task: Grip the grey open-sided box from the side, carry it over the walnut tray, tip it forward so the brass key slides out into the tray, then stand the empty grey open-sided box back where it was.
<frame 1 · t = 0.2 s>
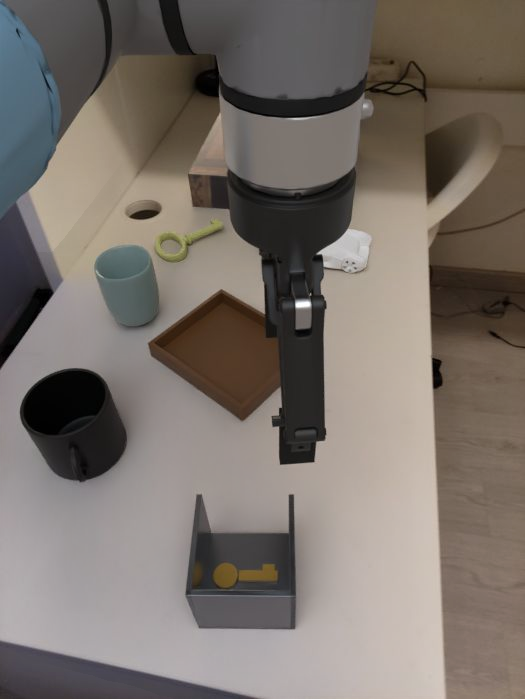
hand: (287, 391, 47), 18 cm above the table, tool pointing down, fingers open, 13 cm apart
grey open-sided box: (248, 579, 53), on the table, touching brass key
brass key: (248, 577, 53), point 1 cm above the table, touching grey open-sided box
mug: (88, 456, 63), on the table
mineral specimen: (327, 114, 123), on the table
toy car: (312, 253, 88), on the table
key: (188, 244, 91), on the table
cup: (138, 316, 79), on the table
tray: (231, 355, 73), on the table
book: (278, 177, 105), on the table
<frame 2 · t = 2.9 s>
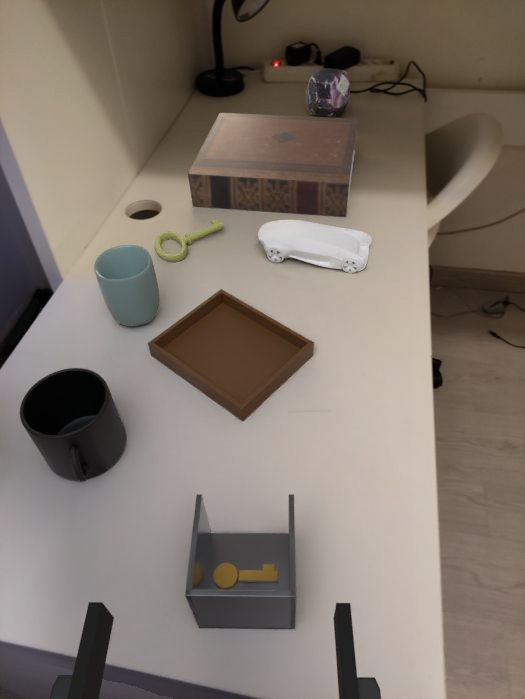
hand: (220, 609, 30), 22 cm above the table, tool horizontal, fingers open, 13 cm apart
nothing on the table moved.
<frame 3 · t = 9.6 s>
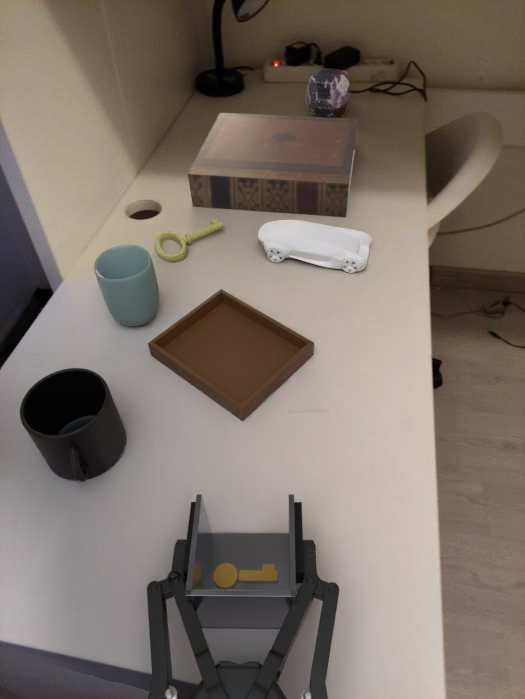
hand: (246, 508, 52), 6 cm above the table, tool horizontal, fingers closed on grey open-sided box, 9 cm apart
grey open-sided box: (248, 579, 53), on the table, touching brass key, gripper
everything else where it was.
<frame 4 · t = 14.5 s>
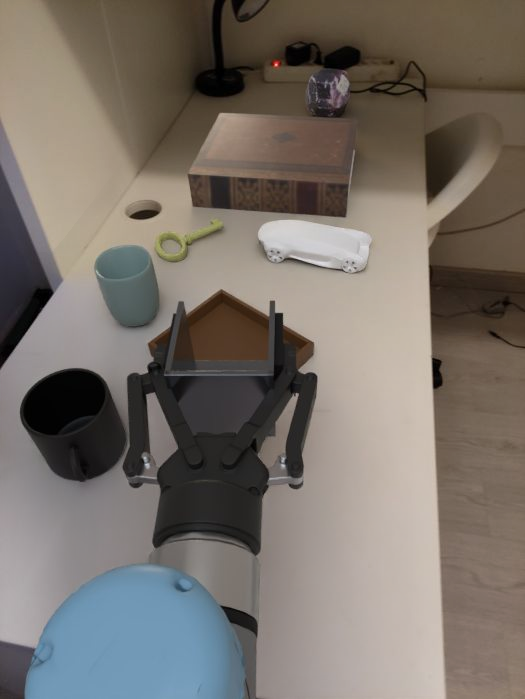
hand: (229, 323, 52), 18 cm above the table, tool horizontal, fingers closed on grey open-sided box, 9 cm apart
grey open-sided box: (230, 398, 53), point 12 cm above the table, touching brass key, gripper
brass key: (230, 394, 53), point 12 cm above the table, touching grey open-sided box
everything else where it was.
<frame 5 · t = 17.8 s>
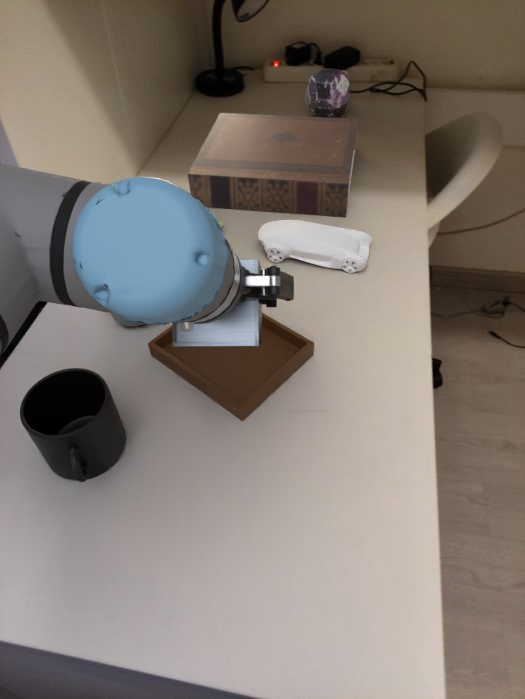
hand: (224, 293, 64), 12 cm above the table, tool tilted 45°, fingers closed on grey open-sided box, 9 cm apart
grey open-sided box: (220, 344, 60), point 10 cm above the table, tilted 45°, touching gripper
brass key: (221, 339, 61), point 10 cm above the table, tilted 45°
everything else where it was.
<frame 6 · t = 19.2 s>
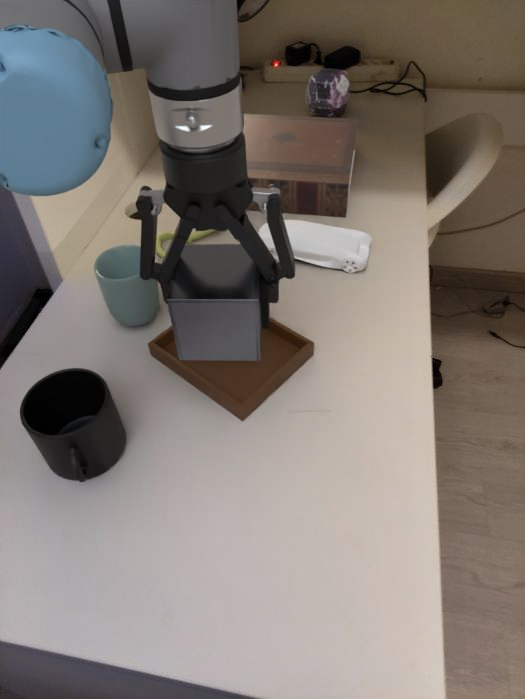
hand: (224, 320, 63), 11 cm above the table, tool pointing down, fingers closed on grey open-sided box, 9 cm apart
grey open-sided box: (216, 332, 55), point 15 cm above the table, tilted 90°, touching gripper
brass key: (226, 348, 73), point 1 cm above the table, tilted 180°, touching tray
everything else where it was.
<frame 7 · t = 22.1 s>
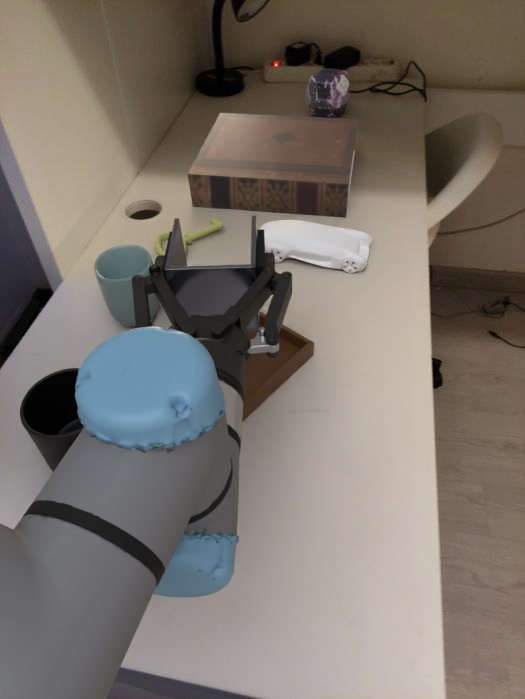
hand: (218, 240, 61), 18 cm above the table, tool horizontal, fingers closed on grey open-sided box, 9 cm apart
grey open-sided box: (220, 305, 63), point 12 cm above the table, touching gripper
everything else where it was.
when the fingers open (6 cm above the table, at t = 30.0 s): grey open-sided box stays where it is, on the table.
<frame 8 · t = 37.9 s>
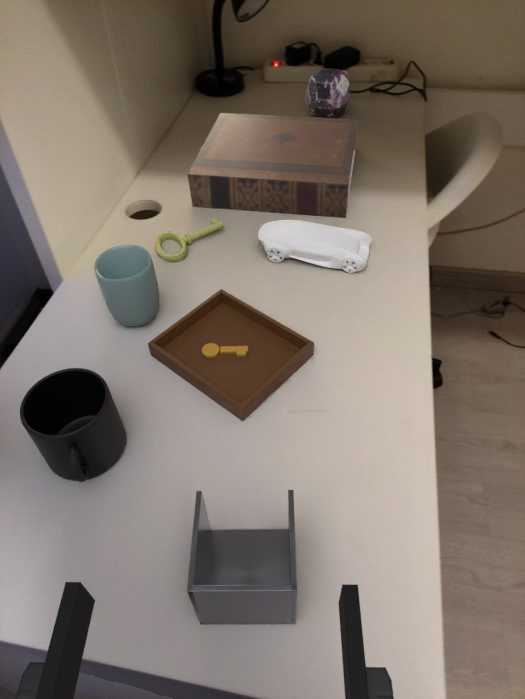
hand: (213, 591, 27), 26 cm above the table, tool horizontal, fingers open, 13 cm apart
grey open-sided box: (249, 575, 53), on the table
everything else where it was.
at the end: brass key inside the target area in the tray (0.7 cm from its centre), point 1.0 cm above the tray's base; grey open-sided box tilted 0°; the gripper is holding nothing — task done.
